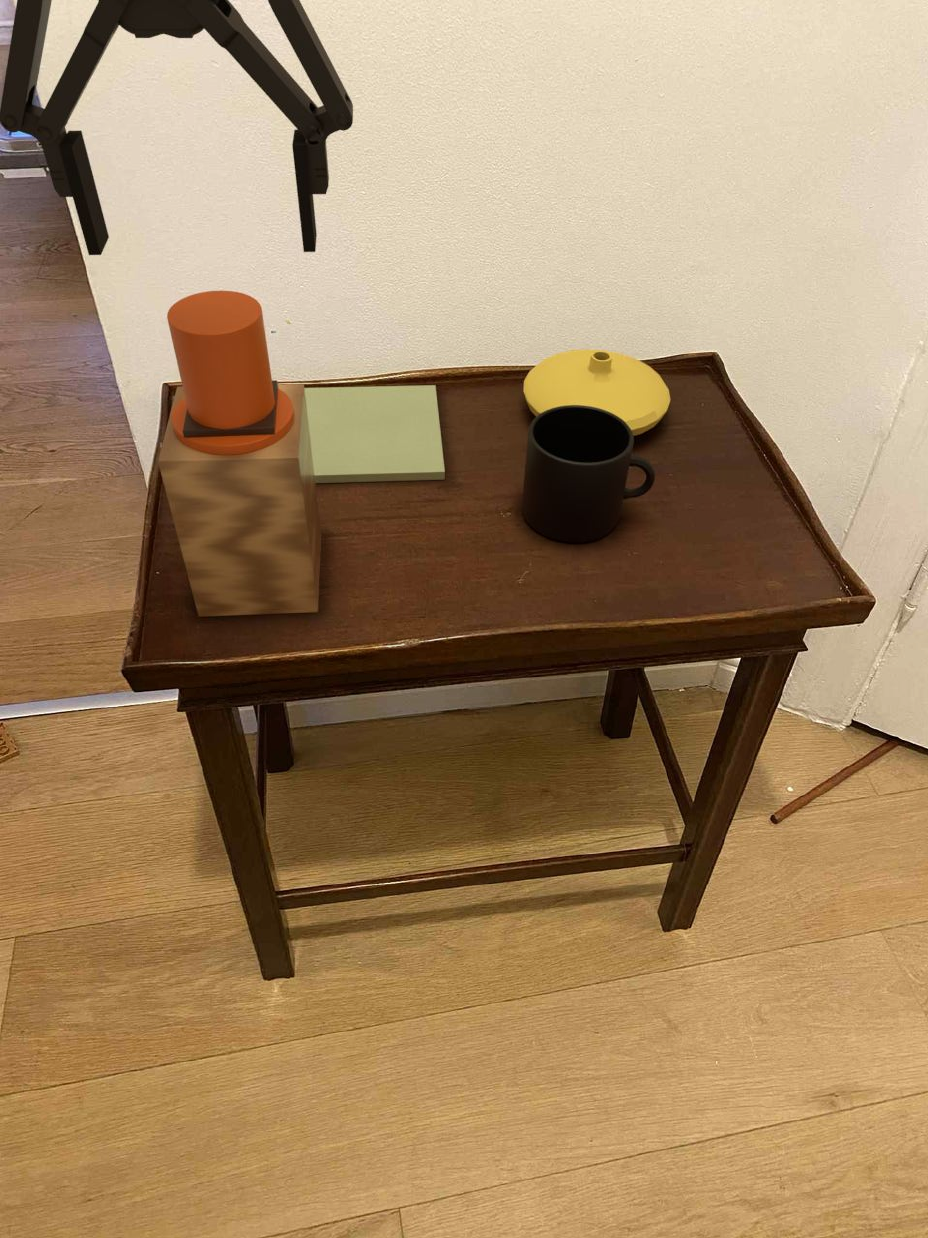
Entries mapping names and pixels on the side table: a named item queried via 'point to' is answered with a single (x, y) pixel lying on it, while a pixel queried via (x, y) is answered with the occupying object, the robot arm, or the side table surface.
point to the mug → (579, 472)
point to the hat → (225, 376)
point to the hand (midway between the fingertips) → (205, 245)
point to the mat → (375, 433)
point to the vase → (599, 386)
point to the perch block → (247, 521)
